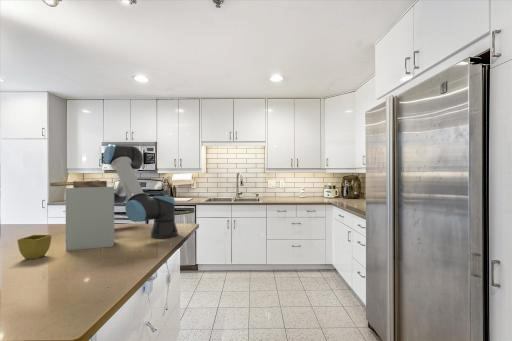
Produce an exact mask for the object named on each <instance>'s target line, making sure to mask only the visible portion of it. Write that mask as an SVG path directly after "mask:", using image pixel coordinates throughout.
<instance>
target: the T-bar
mask: <svg viewBox="0 0 512 341" xmlns="http://www.w3.org/2000/svg"><path fill="white" fill-rule="evenodd" d="M72 184H73V186H72V187H73V188H80V187H107V186H108V181H107V180H100V179H92V180H75V181H73V182H72Z"/></svg>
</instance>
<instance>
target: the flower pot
mask: <svg viewBox="0 0 512 341" xmlns="http://www.w3.org/2000/svg"><path fill="white" fill-rule="evenodd" d="M16 240H17V246H18V250H19V252H20V254H21V256H22V257H23V258H24V259H25V260H26V259H28V260H31V259H33V260H36V259H39V258H41V257H44V256H45V255H46V254H47V253H48V251H49V250H50V247H51V242H52V234H32V235H29V236H25V237H21V238H19V239H16Z"/></svg>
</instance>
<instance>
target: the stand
mask: <svg viewBox="0 0 512 341" xmlns="http://www.w3.org/2000/svg"><path fill="white" fill-rule="evenodd" d="M114 192H115V185H107V187H80V188H73V186H68V187H65V252H68V251H77V250H88V249H89V250H90V249H100V248H111V247H113V246H114V244H115V204H114Z"/></svg>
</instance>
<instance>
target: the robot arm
mask: <svg viewBox="0 0 512 341" xmlns="http://www.w3.org/2000/svg"><path fill="white" fill-rule="evenodd" d="M103 162H104V163H105V165H106V164H107V165H110V167H111V169H112V170H115V172H116V174H117V177H118V178H119V181H118V184H117V186H116V188H115V189H114V205H115V204H124V203H125V206H124V209H125V214H126V216H127V218H128V219H129V220H130V222H134V223H137V222H139V223H140V222H145V221H151V220H153V225H152V228H151V231H150V237H151V238H154V239H169V238H173V237H176V236H178V235H179V232H178V231H179V230H178V228H177V224H176V222H175V221H176V220H175V219H176V216H175V215H176V214H175V213H176V212H175V211H176V209H175V208H176V207H175V206H176V203H175V202H176V201H175V198H174V197H173V196H163V195H154V196H153V198H150V196H149V195H148V193H145V192H144V191H143V189H142V186H141V183H140V182H139V180H138V178H137V176H136V175H137V173H138V171H139V170H140V169H141V168H142V165H143V163H144V156H143V153H142V152H141V150H140V149H139V148H138V147H136V146H134V145H123V144H108V145H106V147H105V149H104V152H103Z"/></svg>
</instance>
